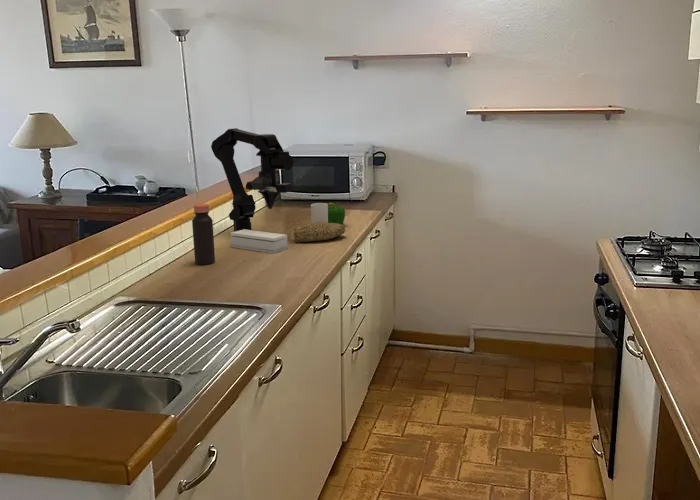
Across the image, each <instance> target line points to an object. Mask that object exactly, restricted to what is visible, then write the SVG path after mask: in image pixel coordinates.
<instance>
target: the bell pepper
mask: <svg viewBox="0 0 700 500" xmlns="http://www.w3.org/2000/svg"><path fill="white" fill-rule="evenodd" d="M328 206H330V207H328V223H337V224H341V225H343V224H344V223H345V222H344V221H345V216H346V210H345V207H341V206H339V205H338V206H336V204H335V203H333V202H329V203H328Z"/></svg>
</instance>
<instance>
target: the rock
mask: <svg viewBox="0 0 700 500" xmlns="http://www.w3.org/2000/svg"><path fill="white" fill-rule="evenodd" d="M345 232H346V226H345V225H341V224H337V223H322V222H321V223H320V222H318V223H313V224H312V223H310V224H307V223H306V224H305V223H304V224H303V225H299V226H296V227H294V228H293V237H294V241H295V243H304V242H305V243H307V242H308V243H309V242H317V241H319V242H320V241H329V240H332V239H336V238H337V237H340V236H342V235H343V234H345Z"/></svg>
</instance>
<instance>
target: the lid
mask: <svg viewBox="0 0 700 500" xmlns="http://www.w3.org/2000/svg"><path fill="white" fill-rule="evenodd" d="M230 236H239V237H246V238H254V239H261V240H268V241H277V240H280V239H284V238H287V239H288V234H284V233H275V232H270V231H269V232H267V231H260V230H254V229H251V230H246V229H243V230H239V231H235V232H234V231H232V232H230Z"/></svg>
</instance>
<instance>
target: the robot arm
mask: <svg viewBox="0 0 700 500" xmlns="http://www.w3.org/2000/svg"><path fill="white" fill-rule="evenodd" d="M238 142H241V143H245V144H248V145H249V144H250V145H252V146H254V148H255V149H257V150H258V152H257V153H256V154H255V155H256V157H260V171H258V176H257V177H255V178H254V179H253V180H250V181H247V182H246V184H245V187H244V184H243V181H242V179H241V176H240V174H239V170H238V168H237V165H236V163H235V159H234V156H235V146H236V145H237V144H238ZM210 148H211V151H212V153H213V155H214V157H215V158H216V159H217V160H218V161H219V162H220V163H221V165H222V168H223V171H224V173H225V176H226V178H227V182H228V185H229V186H230V191H231V193H232V196H233V197H232V203H231V205H232V210H231V211H230V212H229V213H228V217H229V220H230V221H231V220H232V221H233V232H235V231H239V230H243V229H246V230H252V222H251V218H254V215H255V212H256V208H257V207H256V202H255V200H254V196H253V194H248V193H247V192H246V191H245V190H251V191H256V190H257V193H259V194H260V195H262V197H263V198H264V200H265V203H266V206H267V208H268V210H272V209H273V207H274V204H275V203H276V200H277V197H278V196H279V194H280V193H281V194H282V193H283V194H285V193H290V192H293V191H294V185H293V184H292V183H288V182H282V183H280V181H279V180H278V179H277V174H279V170H284V171H289V170H291V169H292V168H293V167H294V160H293V157H292V156H291V155H290V152H289V151H288V150H287V151H284V149H283V147H282V145H281V144H280V142H279V140H278V138H277V135H276V134H273V133H265V134H264V133H262V134H260V133H259V134H258V133H255V132H250V131H247V130H242V129H239V128H235V127H234V128H228V129H227V130H226V131H224V133H222V134H220V135H219V136H218V137H217V138H215V139H214V140H212V142H211V145H210Z"/></svg>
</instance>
